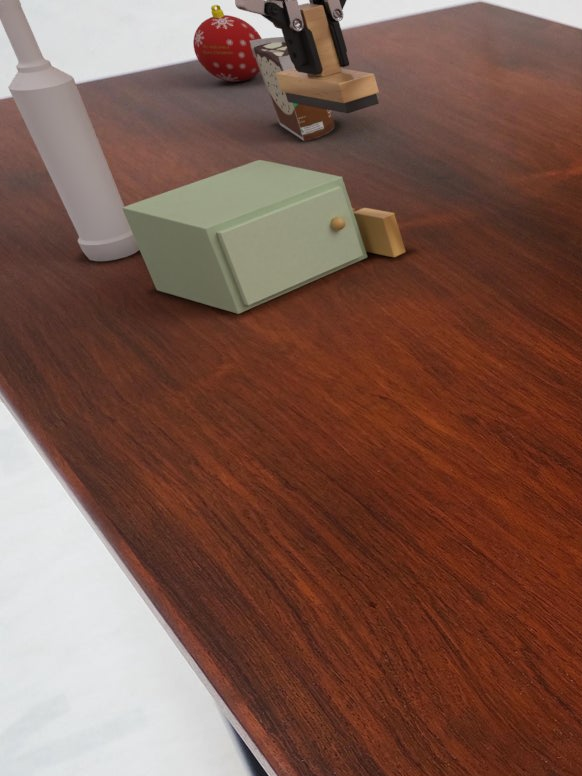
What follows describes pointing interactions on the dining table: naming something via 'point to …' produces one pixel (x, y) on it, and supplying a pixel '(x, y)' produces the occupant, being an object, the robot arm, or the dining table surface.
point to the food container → (290, 115)
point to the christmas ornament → (226, 47)
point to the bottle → (67, 144)
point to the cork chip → (379, 232)
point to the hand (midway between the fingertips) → (322, 67)
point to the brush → (327, 74)
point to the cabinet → (246, 234)
